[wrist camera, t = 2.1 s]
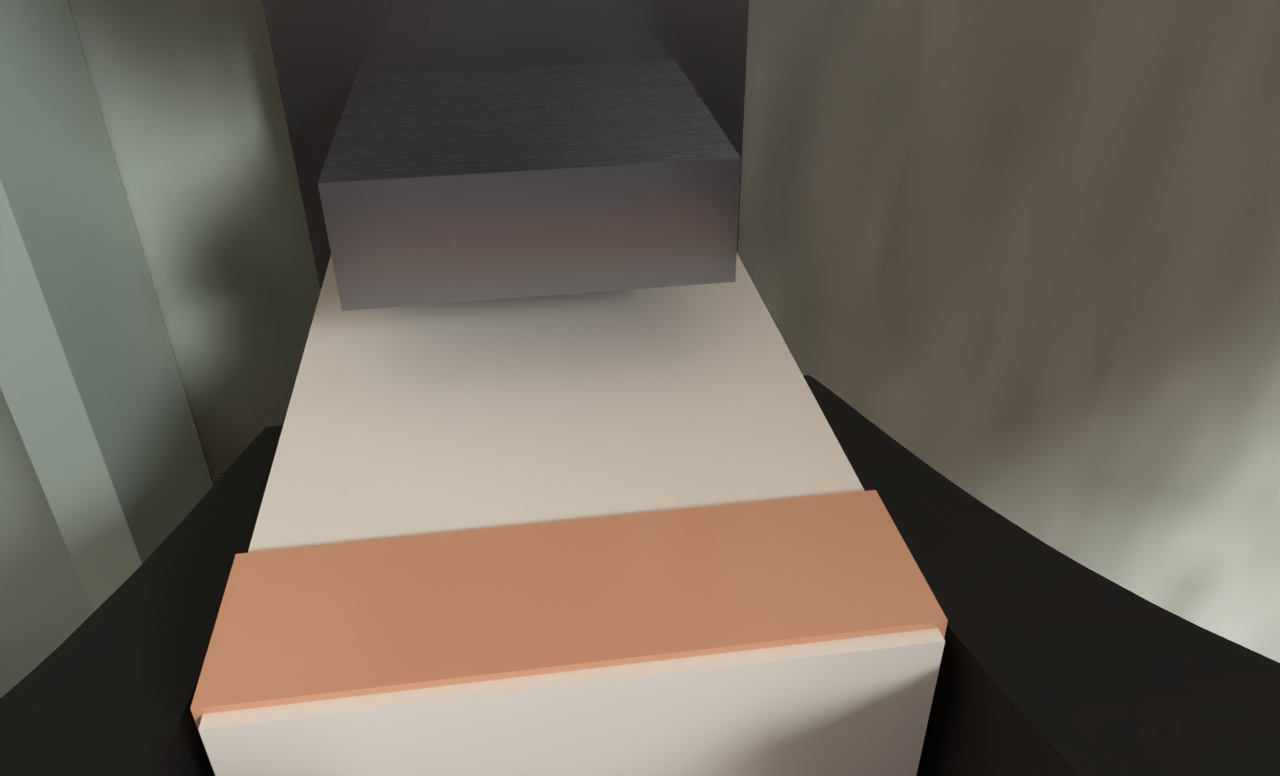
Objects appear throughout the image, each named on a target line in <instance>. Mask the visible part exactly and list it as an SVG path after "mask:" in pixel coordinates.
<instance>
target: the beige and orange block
mask: <svg viewBox="0 0 1280 776" xmlns="http://www.w3.org/2000/svg"><path fill="white" fill-rule="evenodd" d="M947 623H948V620H947V618H946V616H945V614H944V613H943V611H942V609H941V607H940V605H939V603H938V602H937V600H936V598H935V596H934V594H933V593H932V591H931V589H930V587H929V585H928V584H927V582H926V580H925V578H924V576H923V574H922V573H921V571H920V569H919V567H918V565H917V564H916V562H915V560H914V558H913V556H912V555H911V553H910V551H909V549H908V547H907V545H906V544H905V542H904V540H903V538H902V536H901V535H900V533H899V531H898V529H897V527H896V526H895V524H894V522H893V520H892V518H891V516H890V515H889V513H888V511H887V509H886V507H885V506H884V504H883V502H882V500H881V498H880V497H879V495H878V493H877V491H876V490H870V491H864V489H863V487H862V485H861V483H860V481H859V479H858V477H857V476H856V474H855V472H854V470H853V468H852V466H851V464H850V463H849V461H848V459H847V457H846V455H845V453H844V451H843V450H842V448H841V446H840V444H839V442H838V440H837V438H836V436H835V435H834V433H833V431H832V429H831V427H830V425H829V423H828V422H827V420H826V418H825V416H824V414H823V412H822V410H821V408H820V407H819V405H818V403H817V401H816V399H815V397H814V395H813V394H812V392H811V390H810V388H809V386H808V384H807V382H806V381H805V379H804V377H803V375H802V373H801V371H800V369H799V367H798V366H797V364H796V362H795V360H794V358H793V356H792V354H791V353H790V351H789V349H788V347H787V345H786V343H785V341H784V339H783V338H782V336H781V334H780V332H779V330H778V328H777V326H776V325H775V323H774V321H773V319H772V317H771V315H770V313H769V311H768V310H767V308H766V306H765V304H764V302H763V300H762V298H761V297H760V295H759V293H758V291H757V289H756V287H755V285H754V284H753V282H752V280H751V278H750V276H749V274H748V272H747V270H746V269H745V267H744V265H743V263H742V261H741V259H740V257H739V256H738V254H737V255H736V277H735V282H726V283H712V284H699V285H685V286H672V287H659V288H645V289H632V290H618V291H605V292H591V293H578V294H564V295H551V296H537V297H524V298H511V299H497V300H484V301H470V302H457V303H443V304H430V305H416V306H403V307H389V308H376V309H362V310H349V311H342V308H341V302H340V297H339V292H338V287H337V282H336V276H335V271H334V266H333V261H332V255H331V256H330V260H329V264H328V267H327V271H326V274H325V278H324V281H323V285H322V289H321V292H320V296H319V299H318V303H317V307H316V310H315V314H314V317H313V321H312V324H311V328H310V332H309V335H308V339H307V342H306V346H305V349H304V353H303V357H302V360H301V364H300V367H299V371H298V375H297V378H296V382H295V385H294V389H293V392H292V396H291V400H290V403H289V407H288V410H287V414H286V418H285V421H284V425H283V428H282V432H281V435H280V439H279V443H278V446H277V450H276V453H275V457H274V461H273V464H272V468H271V471H270V475H269V478H268V482H267V486H266V489H265V493H264V496H263V500H262V504H261V507H260V511H259V514H258V518H257V521H256V525H255V529H254V532H253V536H252V539H251V543H250V546H249V550H248V553H240V554H236V555H235V558H234V562H233V565H232V568H231V572H230V575H229V579H228V582H227V586H226V589H225V592H224V596H223V599H222V603H221V606H220V609H219V613H218V616H217V620H216V623H215V626H214V630H213V633H212V637H211V640H210V643H209V647H208V650H207V654H206V657H205V660H204V664H203V667H202V671H201V674H200V677H199V681H198V684H197V688H196V691H195V694H194V698H193V701H192V705H191V708H190V710H191V712H192V715H193V718H194V720H195V723H196V726H197V728H198V731H199V734H200V736H201V739H202V742H203V744H204V747H205V750H206V752H207V755H208V758H209V761H210V763H211V766H212V769H213V771H214V774H215V776H916V775H917V770H918V765H919V761H920V756H921V751H922V747H923V742H924V737H925V733H926V728H927V723H928V719H929V714H930V709H931V705H932V700H933V696H934V691H935V686H936V682H937V677H938V672H939V668H940V663H941V658H942V654H943V649H944V644H945V640H944V637H945V632H946V627H947Z"/></svg>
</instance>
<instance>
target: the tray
mask: <svg viewBox="0 0 1280 776" xmlns="http://www.w3.org/2000/svg"><path fill="white" fill-rule="evenodd" d="M212 487H213V483H212V479H211V476H210V473H209V469H208V466H207V463H206V459H205V456H204V453H203V449H202V446H201V443H200V440H199V436H198V433H197V430H196V426H195V423H194V420H193V416H192V413H191V410H190V406H189V403H188V400H187V396H186V393H185V390H184V386H183V383H182V380H181V376H180V373H179V370H178V366H177V363H176V360H175V356H174V353H173V350H172V346H171V343H170V340H169V336H168V333H167V330H166V326H165V323H164V320H163V317H162V313H161V310H160V307H159V303H158V300H157V297H156V293H155V290H154V287H153V283H152V280H151V277H150V273H149V270H148V267H147V263H146V260H145V257H144V253H143V250H142V247H141V243H140V240H139V237H138V233H137V230H136V227H135V223H134V220H133V217H132V213H131V210H130V207H129V204H128V200H127V197H126V194H125V190H124V187H123V184H122V180H121V177H120V174H119V170H118V167H117V164H116V160H115V157H114V154H113V150H112V147H111V144H110V140H109V137H108V134H107V130H106V127H105V124H104V120H103V117H102V114H101V110H100V107H99V104H98V100H97V97H96V94H95V91H94V87H93V84H92V81H91V77H90V74H89V71H88V67H87V64H86V61H85V57H84V54H83V51H82V47H81V44H80V41H79V37H78V34H77V31H76V27H75V24H74V21H73V17H72V14H71V11H70V7H69V4H68V1H67V0H0V698H1V697H3V696H4V695H5V694H6V693H7V692H9V691H10V690H11V689H12V688H13V687H14V686H15V685H16V684H18V683H19V682H20V681H21V680H22V679H23V678H24V677H26V676H27V675H28V674H29V673H30V672H31V671H32V670H34V669H35V668H36V667H37V666H38V665H39V664H40V663H41V662H42V661H43V660H45V659H46V658H47V657H48V656H49V655H50V654H51V653H52V652H53V651H54V650H56V649H57V648H58V647H59V646H60V645H61V644H62V643H63V642H64V641H65V640H66V639H67V638H68V637H69V636H70V635H71V634H72V633H73V632H74V631H75V630H76V629H77V628H78V627H79V626H80V625H81V624H82V623H83V622H84V621H85V620H86V619H87V618H88V617H89V616H90V615H91V614H92V613H93V612H94V611H95V610H96V609H97V608H98V607H99V606H100V605H102V604H103V603H104V602H105V601H106V600H107V599H108V598H109V597H110V596H111V595H112V594H113V593H114V592H115V591H116V590H117V589H118V588H119V587H120V586H121V585H122V584H123V583H124V582H125V581H126V580H127V579H128V578H129V577H130V576H131V575H132V574H133V573H134V572H135V571H136V570H137V569H138V568H139V567H140V566H141V565H142V564H143V563H144V562H145V560H146V559H147V558H148V557H149V556H150V555H151V554H152V553H153V552H154V551H155V550H156V549H157V547H158V546H159V545H160V544H161V543H162V542H163V541H164V540H165V539H166V538H167V537H168V536H169V534H170V533H171V532H172V531H173V530H174V529H175V528H176V527H177V526H178V525H179V524H180V523H181V521H182V520H183V519H184V518H185V517H186V516H187V515H188V514H189V513H190V511H191V510H192V509H193V508H194V507H195V506H196V505H197V504H198V502H199V501H200V500H201V499H202V498H203V497H204V496H205V495H206V493H207V492H208V491H209V490H210V489H211V488H212Z"/></svg>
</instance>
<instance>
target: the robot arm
mask: <svg viewBox="0 0 1280 776" xmlns="http://www.w3.org/2000/svg"><path fill="white" fill-rule="evenodd" d="M803 377H804V379H805V381H806V382H807V384H808V386H809V388H810V390H811V392H812V394H813V395H814V397H815V399H816V401H817V403H818V405H819V407H820V408H821V410H822V412H823V414H824V416H825V418H826V420H827V422H828V423H829V425H830V427H831V429H832V431H833V433H834V435H835V436H836V438H837V440H838V442H839V444H840V446H841V448H842V450H843V451H844V453H845V455H846V457H847V459H848V461H849V463H850V464H851V466H852V468H853V470H854V472H855V474H856V476H857V477H858V479H859V481H860V483H861V485H862V487H863V489H864V491H870V490H876V491H877V493H878V495H879V497H880V498H881V500H882V502H883V504H884V506H885V507H886V509H887V511H888V513H889V515H890V516H891V518H892V520H893V522H894V524H895V526H896V527H897V529H898V531H899V533H900V535H901V536H902V538H903V540H904V542H905V544H906V545H907V547H908V549H909V551H910V553H911V555H912V556H913V558H914V560H915V562H916V564H917V565H918V567H919V569H920V571H921V573H922V574H923V576H924V578H925V580H926V582H927V584H928V585H929V587H930V589H931V591H932V593H933V594H934V596H935V598H936V600H937V602H938V603H939V605H940V607H941V609H942V611H943V613H944V614H945V616H946V618H947V620H948V623H947V627H946V632H945V637H944V640H945V644H944V649H943V654H942V658H941V663H940V668H939V672H938V677H937V682H936V686H935V691H934V696H933V700H932V705H931V709H930V714H929V719H928V723H927V728H926V733H925V737H924V742H923V747H922V751H921V756H920V761H919V765H918V770H917V775H916V776H1280V663H1278V662H1276V661H1274V660H1271V659H1269V658H1267V657H1265V656H1263V655H1261V654H1258V653H1256V652H1254V651H1252V650H1250V649H1247V648H1245V647H1243V646H1241V645H1239V644H1236V643H1234V642H1232V641H1230V640H1228V639H1225V638H1223V637H1221V636H1219V635H1217V634H1214V633H1212V632H1210V631H1208V630H1206V629H1203V628H1201V627H1199V626H1197V625H1195V624H1193V623H1191V622H1189V621H1187V620H1185V619H1183V618H1181V617H1179V616H1177V615H1175V614H1173V613H1171V612H1169V611H1167V610H1165V609H1163V608H1161V607H1159V606H1157V605H1155V604H1153V603H1151V602H1149V601H1147V600H1145V599H1143V598H1142V597H1140V596H1138V595H1136V594H1134V593H1132V592H1131V591H1129V590H1127V589H1125V588H1123V587H1121V586H1119V585H1118V584H1116V583H1114V582H1112V581H1110V580H1108V579H1107V578H1105V577H1103V576H1101V575H1099V574H1097V573H1096V572H1094V571H1092V570H1090V569H1088V568H1086V567H1084V566H1083V565H1081V564H1079V563H1077V562H1076V561H1074V560H1072V559H1071V558H1069V557H1067V556H1065V555H1064V554H1062V553H1060V552H1059V551H1057V550H1055V549H1054V548H1052V547H1050V546H1049V545H1047V544H1045V543H1044V542H1042V541H1040V540H1039V539H1037V538H1036V537H1034V536H1033V535H1031V534H1029V533H1028V532H1026V531H1025V530H1023V529H1022V528H1020V527H1019V526H1017V525H1015V524H1014V523H1012V522H1011V521H1009V520H1008V519H1006V518H1004V517H1003V516H1001V515H1000V514H998V513H997V512H995V511H994V510H992V509H990V508H989V507H987V506H986V505H984V504H983V503H981V502H980V501H979V500H977V499H976V498H974V497H973V496H971V495H970V494H968V493H967V492H965V491H964V490H962V489H961V488H960V487H958V486H957V485H955V484H954V483H952V482H951V481H950V480H948V479H947V478H945V477H944V476H943V475H941V474H940V473H938V472H937V471H936V470H934V469H933V468H931V467H930V466H929V465H927V464H926V463H925V462H923V461H922V460H920V459H919V458H918V457H916V456H915V455H914V454H912V453H911V452H910V451H908V450H907V449H906V448H904V447H903V446H902V445H900V444H899V443H898V442H896V441H895V440H894V439H892V438H891V437H890V436H888V435H887V434H886V433H885V432H883V431H882V430H881V429H879V428H878V427H877V426H875V425H874V424H873V423H872V422H870V421H869V420H868V419H866V418H865V417H864V416H862V415H861V414H860V413H859V412H857V411H856V410H855V409H853V408H852V407H851V406H850V405H848V404H847V403H846V402H844V401H843V400H842V399H841V398H839V397H838V396H837V395H835V394H834V393H833V392H831V391H830V390H829V389H828V388H826V387H825V386H823V385H822V384H821V383H819V382H818V381H817V380H815V379H814V378H812V377H811V376H809V375H805V376H803ZM282 428H283V426H273V427H265V429H264V430H263V431H262V432H261V433H260V434H259V435H258V436H257V437H256V438H255V439H254V440H253V442H252V443H251V444H250V445H249V446H248V447H247V448H246V449H245V450H244V452H243V453H242V454H241V455H240V456H239V457H238V458H237V459H236V461H235V462H234V463H233V464H232V465H231V466H230V467H229V468H228V470H227V471H226V472H225V473H224V474H223V475H222V476H221V477H220V479H219V480H218V481H217V482H216V483H215V484H214V485H213V487H212V488H211V489H210V490H209V491H208V492H207V493H206V495H205V496H204V497H203V498H202V499H201V500H200V501H199V502H198V504H197V505H196V506H195V507H194V508H193V509H192V510H191V511H190V513H189V514H188V515H187V516H186V517H185V518H184V519H183V520H182V521H181V523H180V524H179V525H178V526H177V527H176V528H175V529H174V530H173V531H172V532H171V533H170V534H169V536H168V537H167V538H166V539H165V540H164V541H163V542H162V543H161V544H160V545H159V546H158V547H157V549H156V550H155V551H154V552H153V553H152V554H151V555H150V556H149V557H148V558H147V559H146V560H145V562H144V563H143V564H142V565H141V566H140V567H139V568H138V569H137V570H136V571H135V572H134V573H133V574H132V575H131V576H130V577H129V578H128V579H127V580H126V581H125V582H124V583H123V584H122V585H121V586H120V587H119V588H118V589H117V590H116V591H115V592H114V593H113V594H112V595H111V596H110V597H109V598H108V599H107V600H106V601H105V602H104V603H103V604H102V605H100V606H99V607H98V608H97V609H96V610H95V611H94V612H93V613H92V614H91V615H90V616H89V617H88V618H87V619H86V620H85V621H84V622H83V623H82V624H81V625H80V626H79V627H78V628H77V629H76V630H75V631H74V632H73V633H72V634H71V635H70V636H69V637H68V638H67V639H66V640H65V641H64V642H63V643H62V644H61V645H60V646H59V647H58V648H57V649H56V650H54V651H53V652H52V653H51V654H50V655H49V656H48V657H47V658H46V659H45V660H43V661H42V662H41V663H40V664H39V665H38V666H37V667H36V668H35V669H34V670H32V671H31V672H30V673H29V674H28V675H27V676H26V677H24V678H23V679H22V680H21V681H20V682H19V683H18V684H16V685H15V686H14V687H13V688H12V689H11V690H10V691H9V692H7V693H6V694H5V695H4V696H3V697H1V698H0V776H215V774H214V771H213V769H212V766H211V763H210V761H209V758H208V755H207V752H206V750H205V747H204V744H203V742H202V739H201V736H200V734H199V731H198V728H197V726H196V723H195V720H194V718H193V715H192V712H191V710H190V708H191V705H192V701H193V698H194V694H195V691H196V688H197V684H198V681H199V677H200V674H201V671H202V667H203V664H204V660H205V657H206V654H207V650H208V647H209V643H210V640H211V637H212V633H213V630H214V626H215V623H216V620H217V616H218V613H219V609H220V606H221V603H222V599H223V596H224V592H225V589H226V586H227V582H228V579H229V575H230V572H231V568H232V565H233V562H234V558H235V555H236V554H240V553H248V550H249V546H250V543H251V539H252V536H253V532H254V529H255V525H256V521H257V518H258V514H259V511H260V507H261V504H262V500H263V496H264V493H265V489H266V486H267V482H268V478H269V475H270V471H271V468H272V464H273V461H274V457H275V453H276V450H277V446H278V443H279V439H280V435H281V432H282Z"/></svg>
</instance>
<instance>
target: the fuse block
mask: <svg viewBox="0 0 1280 776" xmlns="http://www.w3.org/2000/svg"><path fill="white" fill-rule="evenodd" d="M262 1H263V6H264V11H265V16H266V20H267V25H268V30H269V35H270V40H271V45H272V50H273V55H274V60H275V65H276V70H277V75H278V80H279V85H280V90H281V95H282V100H283V105H284V110H285V115H286V120H287V124H288V129H289V134H290V139H291V144H292V149H293V154H294V159H295V164H296V169H297V174H298V179H299V184H300V189H301V194H302V199H303V204H304V209H305V214H306V219H307V224H308V229H309V233H310V238H311V243H312V248H313V253H314V258H315V263H316V268H317V273H318V278H319V283H320V288H321V289H322V285H323V281H324V278H325V274H326V271H327V267H328V264H329V260H330V256H331V255H332V261H333V266H334V271H335V276H336V282H337V287H338V292H339V297H340V302H341V308H342V311H349V310H362V309H376V308H389V307H403V306H416V305H430V304H443V303H457V302H470V301H484V300H497V299H511V298H524V297H537V296H551V295H564V294H578V293H591V292H605V291H618V290H632V289H645V288H659V287H672V286H685V285H699V284H712V283H726V282H735V277H736V255H737V250H738V228H739V205H740V183H741V161H742V139H743V117H744V94H745V72H746V50H747V28H748V5H749V0H262Z"/></svg>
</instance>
